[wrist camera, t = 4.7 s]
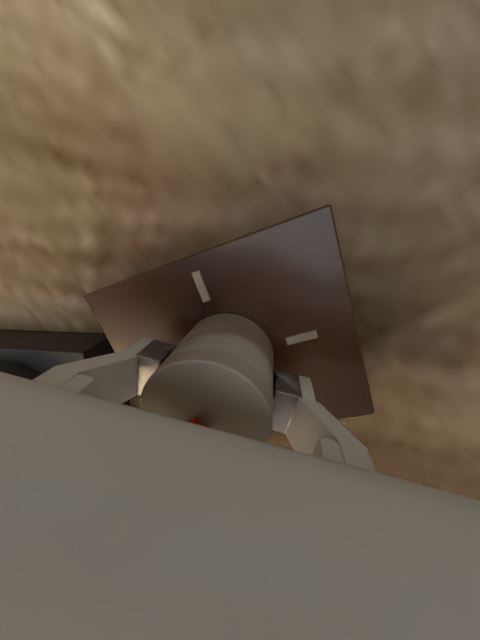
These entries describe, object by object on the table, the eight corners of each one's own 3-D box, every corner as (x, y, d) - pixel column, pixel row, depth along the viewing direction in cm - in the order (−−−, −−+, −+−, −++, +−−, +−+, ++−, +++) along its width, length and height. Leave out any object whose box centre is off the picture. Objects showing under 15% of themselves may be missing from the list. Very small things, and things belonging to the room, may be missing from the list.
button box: (113, 333, 16) (54, 369, 12) (136, 437, 19) (96, 495, 15) (-25, 328, 17) (-120, 358, 13) (17, 425, 20) (-49, 474, 16)
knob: (231, 293, 11) (201, 336, 6) (292, 363, 11) (303, 445, 7) (168, 347, 12) (106, 413, 8) (225, 405, 13) (200, 496, 8)
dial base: (317, 210, 12) (332, 202, 9) (356, 379, 14) (376, 416, 12) (119, 283, 14) (80, 296, 12) (183, 412, 17) (165, 449, 14)
